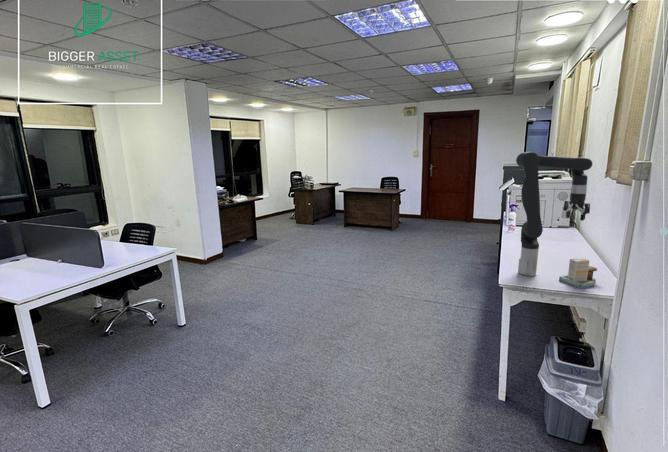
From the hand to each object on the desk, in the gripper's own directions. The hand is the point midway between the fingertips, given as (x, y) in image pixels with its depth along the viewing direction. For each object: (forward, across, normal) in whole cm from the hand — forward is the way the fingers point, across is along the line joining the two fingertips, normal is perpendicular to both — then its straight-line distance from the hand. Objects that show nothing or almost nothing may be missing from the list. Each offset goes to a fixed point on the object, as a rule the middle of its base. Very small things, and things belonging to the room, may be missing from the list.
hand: (575, 219), depth 200 cm
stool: (+34, +14, -2) cm, 37 cm away
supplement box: (+33, +14, -11) cm, 38 cm away
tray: (+34, +14, -12) cm, 39 cm away
